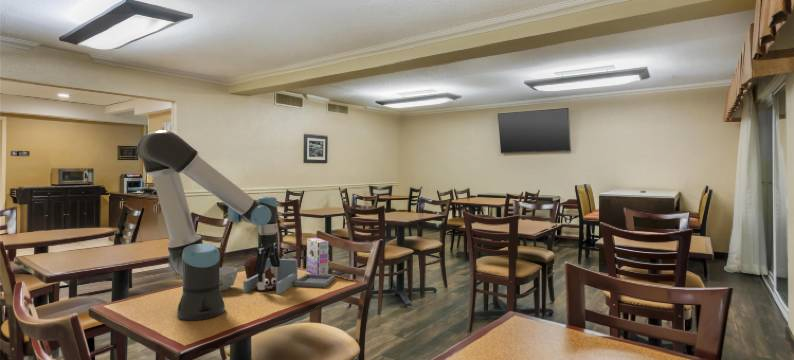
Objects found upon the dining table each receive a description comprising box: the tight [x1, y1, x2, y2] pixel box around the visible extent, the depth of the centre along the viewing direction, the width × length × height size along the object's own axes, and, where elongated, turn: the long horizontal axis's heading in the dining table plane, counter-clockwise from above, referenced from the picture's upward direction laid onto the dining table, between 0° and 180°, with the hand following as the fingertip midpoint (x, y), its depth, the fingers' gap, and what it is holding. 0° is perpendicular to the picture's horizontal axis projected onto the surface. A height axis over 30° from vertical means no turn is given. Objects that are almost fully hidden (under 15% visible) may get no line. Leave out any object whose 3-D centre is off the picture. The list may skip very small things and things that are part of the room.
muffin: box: [243, 254, 257, 280], centre depth 197 cm, size 12×11×10 cm
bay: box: [243, 258, 298, 295], centre depth 182 cm, size 19×15×10 cm
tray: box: [293, 273, 336, 289], centre depth 188 cm, size 14×14×2 cm
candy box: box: [306, 237, 330, 275], centre depth 206 cm, size 14×6×16 cm, turn 34°
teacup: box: [219, 266, 238, 292], centre depth 177 cm, size 15×12×8 cm
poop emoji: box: [254, 267, 277, 293], centre depth 178 cm, size 10×8×9 cm
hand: (267, 285), depth 178 cm, fingers open, 11 cm apart
